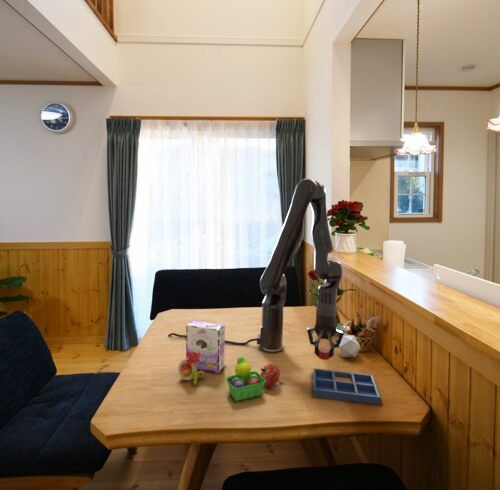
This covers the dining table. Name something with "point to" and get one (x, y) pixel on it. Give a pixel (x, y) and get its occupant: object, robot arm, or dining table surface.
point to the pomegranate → (270, 374)
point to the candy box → (206, 344)
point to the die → (349, 346)
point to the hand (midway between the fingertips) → (323, 355)
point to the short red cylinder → (324, 353)
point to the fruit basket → (245, 381)
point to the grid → (345, 386)
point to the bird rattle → (190, 367)
